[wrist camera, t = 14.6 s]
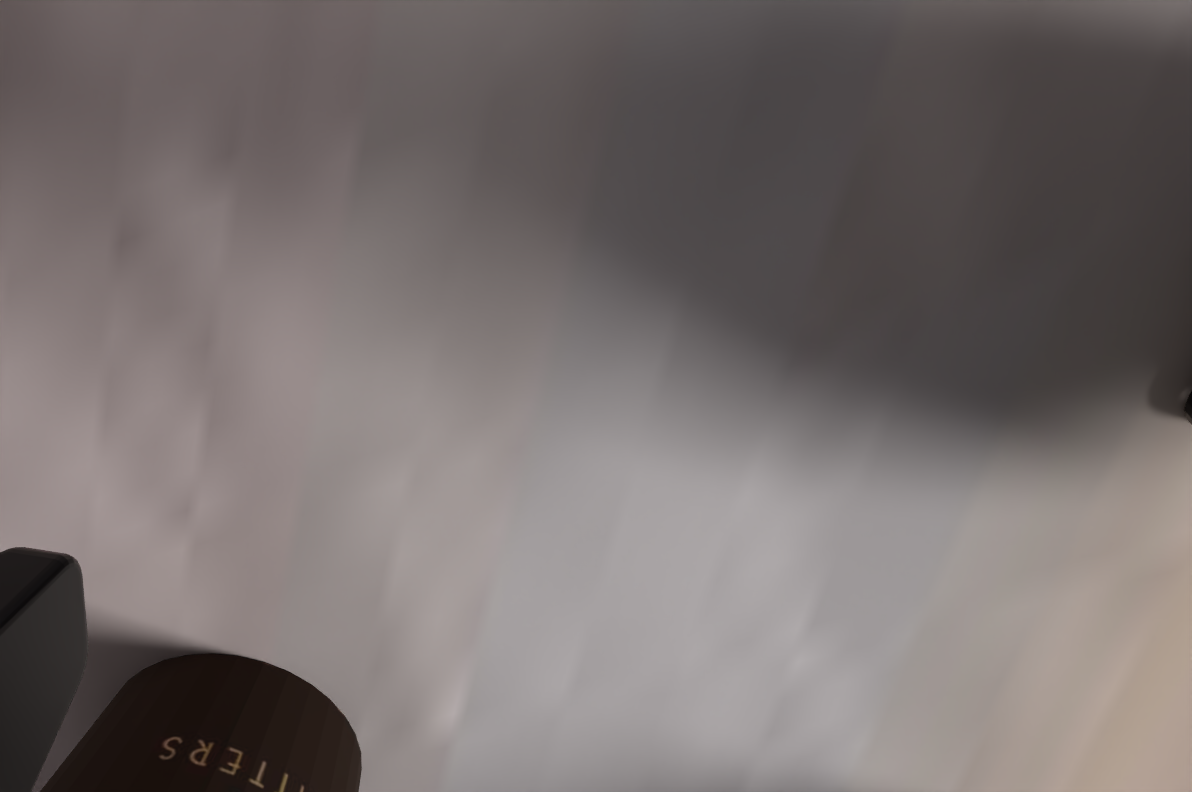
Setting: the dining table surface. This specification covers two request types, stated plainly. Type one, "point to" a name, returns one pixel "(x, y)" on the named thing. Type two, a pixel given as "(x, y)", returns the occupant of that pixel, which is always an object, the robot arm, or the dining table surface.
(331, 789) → the coffee mug
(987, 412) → the dining table surface
